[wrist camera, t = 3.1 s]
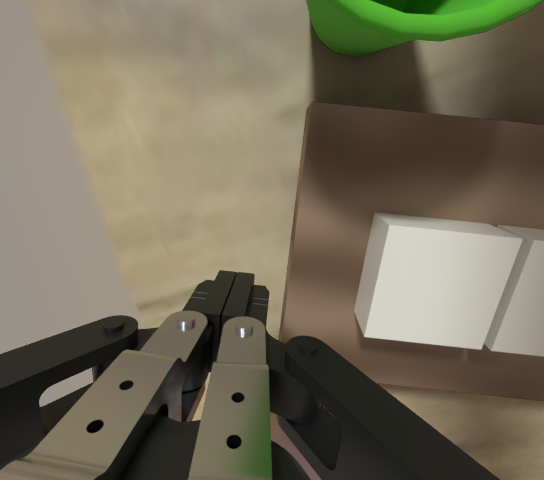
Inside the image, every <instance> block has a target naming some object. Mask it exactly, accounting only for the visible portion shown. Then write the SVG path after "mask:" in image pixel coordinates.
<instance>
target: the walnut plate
mask: <svg viewBox="0 0 544 480" xmlns="http://www.w3.org/2000/svg"><path fill="white" fill-rule="evenodd" d="M374 212H378V213H388V214H398V215H407V216H417V217H426V218H436V219H446V220H455V221H465V222H475V223H484V224H490V225H492V226H494V227H497V226H498V225H503V226H513V227H523V228H532V229H542V230H544V125H540V124H530V123H520V122H510V121H500V120H490V119H480V118H470V117H460V116H450V115H440V114H430V113H420V112H410V111H400V110H390V109H380V108H370V107H360V106H350V105H340V104H330V103H320V102H311V104H310V105H309V107H308V108H307V111H306V119H305V128H304V136H303V144H302V152H301V160H300V169H299V177H298V185H297V193H296V202H295V210H294V218H293V226H292V234H291V243H290V251H289V259H288V267H287V275H286V284H285V292H284V300H283V308H282V316H281V325H280V333H279V341H281V342H283V343H287V342H288V341H289V340H290V339H291V338H293V337H296V336H311V337H315V338H317V339H319V340H321V341H323V342H324V343H326V344H327V345H328V346H329V347H331V348H332V349H333V350H335V351H336V352H337V353H338V354H340V355H341V356H342V357H343V358H345V359H346V360H347V361H349V362H350V363H351V364H352V365H354V366H355V367H356V368H358V369H359V370H360V371H361V372H363V373H364V374H365V375H367V376H368V377H369V378H370V379H372V380H373V381H374V382H375V383H383V384H392V385H401V386H410V387H419V388H428V389H437V390H446V391H455V392H464V393H473V394H482V395H491V396H500V397H509V398H518V399H527V400H536V401H544V356H534V355H525V354H516V353H507V352H498V351H491V350H490V349H489V348H488V347H487V346H486V345H485V344H483V347H482V349H481V350H479V349H470V348H461V347H452V346H443V345H433V344H424V343H415V342H406V341H397V340H387V339H378V338H369V337H364V335H363V333H362V330H361V328H360V325H359V323H358V320H357V317H356V315H355V312H354V309H355V304H356V299H357V294H358V289H359V284H360V280H361V275H362V270H363V265H364V260H365V255H366V251H367V246H368V241H369V236H370V231H371V226H372V222H373V217H374Z"/></svg>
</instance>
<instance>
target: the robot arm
mask: <svg viewBox="0 0 544 480" xmlns="http://www.w3.org/2000/svg"><path fill="white" fill-rule="evenodd" d="M268 301H269V291H268V290H267V288H266V287H265V286H260V285H254V274H251V273H242V272H238V273H237V272H232V271H222V270H220V271H219V273H218V275H217V277H216V279H215V281H212V280H205V281H204V282H202V283H200V284H199V285H198V286H197V287H196V289H195V291H194V292H193V294H192V296H191V297H190V299H189V300H188V302H187V304H186V305H185V307H184V309H183V310H182V311H180V312H176V313H174V314H171V315H170V316H168V317H167V318H166V319H165V321H164V322H163V323H162V324H161V325H160V327H158V328H150V329H139V330H138V322H137V321H136V320H135V319H134V318H132V317H129V316H122V315H119V316H111V317H107V318H103V319H101V320H98V321H95V322H92V323H89V324H86V325H83V326H80V327H78V328H74V329H72V330H69V331H66V332H63V333H60V334H57V335H54V336H51V337H49V338H46V339H43V340H40V341H37V342H34V343H31V344H29V345H26V346H23V347H20V348H17V349H14V350H11V351H8V352H5V353H2V354H0V480H311V479H310V478H309V476H308V475H307V474H306V472H305V471H304V469H303V468H302V467H301V465H300V464H299V463H298V461H297V460H296V459H295V458H294V457H293V456H292V455H291V454H290V453H289V452H288V451H287V450H286V449H284V448H283V447H282V446H280V445H279V444H277V443H276V442H274V441H272V440H271V428H270V412H271V413H274V414H276V415H277V422H278V424H279V426H280V428H281V429H282V430H283V431H284V433H285V434H286V435H287V437H288V438H289V439H290V440H291V442H292V443H293V444H294V445H295V447H296V448H297V449H298V450H299V452H300V453H301V454H302V456H303V457H304V458H305V459H306V461H307V462H308V463H309V464H310V466H311V467H312V468H313V470H314V471H315V472H316V473H317V475H318V476H319V477H320V478H321V480H500V479H498V478H497V477H496V476H494V475H493V474H492V473H491V472H489V471H488V470H487V469H485V468H484V467H483V466H482V465H480V464H479V463H478V462H476V461H475V460H474V459H473V458H471V457H470V456H469V455H468V454H466V453H465V452H464V451H462V450H461V449H460V448H459V447H457V446H456V445H455V444H453V443H452V442H451V441H450V440H448V439H447V438H446V437H445V436H443V435H442V434H441V433H439V432H438V431H437V430H436V429H434V428H433V427H432V426H430V425H429V424H428V423H427V422H425V421H424V420H423V419H421V418H420V417H419V416H418V415H416V414H415V413H414V412H413V411H411V410H410V409H409V408H407V407H406V406H405V405H404V404H402V403H401V402H400V401H398V400H397V399H396V398H395V397H393V396H392V395H391V394H390V393H388V392H387V391H386V390H384V389H383V388H382V387H381V386H379V385H378V384H377V383H375V382H374V381H373V380H372V379H370V378H369V377H368V376H367V375H365V374H364V373H363V372H361V371H360V370H359V369H358V368H356V367H355V366H354V365H352V364H351V363H350V362H349V361H347V360H346V359H345V358H343V357H342V356H341V355H340V354H338V353H337V352H336V351H335V350H333V349H332V348H331V347H329V346H328V345H327V344H326V343H324V342H323V341H321V340H319V339H317V338H315V337H311V336H296V337H293V338H291V339H290V340H289V341H288V342H287V343H283V342H281V341H278V340H276V339H274V338H273V337H271V336H270V335H269V333H268V332H267V330H266V320H267V310H268ZM89 368H92V373H93V383H91V384H89V385H87V386H85V387H83V388H80V389H78V390H76V391H74V392H72V393H70V394H68V395H66V396H64V397H62V398H60V399H58V400H56V401H53V402H52V403H49V404H47V405H45V406H43V407H40V406H39V399H40V396H41V395H42V393H43V392H44V391H45V390H46V389H47V388H48V387H50V386H52V385H54V384H56V383H58V382H60V381H62V380H65V379H67V378H69V377H71V376H74V375H76V374H78V373H80V372H83V371H85V370H87V369H89ZM209 372H211V375H210V380H209V384H208V389H207V394H206V398H205V403H204V408H203V412H202V417H201V420H197V421H192V419H193V417H194V414H195V412H196V410H197V407H198V405H199V403H200V400H201V398H202V396H203V393H204V391H205V381H206V379H207V376H208V373H209ZM322 405H323V406H324V407H325V408H326V409H327V410H328V411H329V412H330V413H331V414H332V415H333V416H334V417H335V418H336V419H335V418H334V417H333V416H332V415H331V414H330V413H329V412H328V411H327V410H326V409H325V408H324V407H323V406H322Z"/></svg>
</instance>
